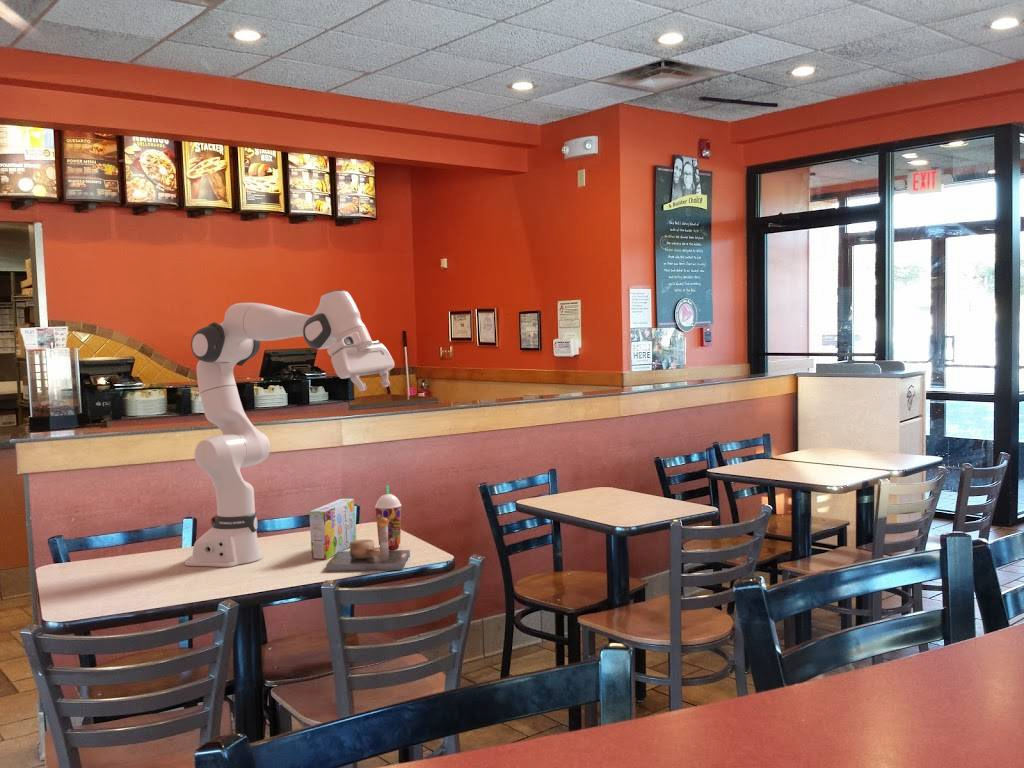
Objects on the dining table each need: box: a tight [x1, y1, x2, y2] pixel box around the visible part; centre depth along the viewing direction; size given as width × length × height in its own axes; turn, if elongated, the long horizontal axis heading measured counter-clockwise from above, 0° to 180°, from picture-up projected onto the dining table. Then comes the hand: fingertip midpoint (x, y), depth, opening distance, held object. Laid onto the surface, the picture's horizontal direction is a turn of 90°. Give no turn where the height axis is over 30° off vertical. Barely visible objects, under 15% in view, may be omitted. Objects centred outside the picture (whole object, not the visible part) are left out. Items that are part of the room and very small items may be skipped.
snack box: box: [308, 498, 357, 560], centre depth 285 cm, size 21×6×15 cm, turn 164°
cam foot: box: [349, 517, 389, 560], centre depth 265 cm, size 15×7×12 cm, turn 49°
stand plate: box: [325, 549, 411, 573], centre depth 268 cm, size 22×16×2 cm
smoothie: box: [374, 485, 402, 550], centre depth 287 cm, size 8×8×20 cm
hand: (375, 388), depth 247 cm, fingers open, 8 cm apart
